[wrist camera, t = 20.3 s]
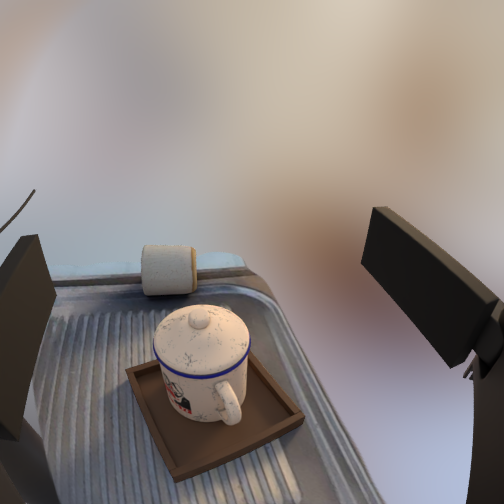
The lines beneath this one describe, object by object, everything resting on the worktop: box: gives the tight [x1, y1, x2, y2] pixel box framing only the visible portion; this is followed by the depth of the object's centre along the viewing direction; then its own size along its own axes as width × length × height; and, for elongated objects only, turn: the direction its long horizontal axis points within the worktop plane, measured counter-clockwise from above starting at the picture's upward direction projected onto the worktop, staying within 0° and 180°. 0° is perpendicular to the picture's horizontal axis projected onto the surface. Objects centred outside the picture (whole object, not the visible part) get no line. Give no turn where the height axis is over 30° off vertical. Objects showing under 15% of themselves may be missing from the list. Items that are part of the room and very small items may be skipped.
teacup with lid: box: [153, 305, 251, 425], centre depth 29 cm, size 12×9×12 cm
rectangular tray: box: [125, 350, 305, 483], centre depth 32 cm, size 15×15×2 cm
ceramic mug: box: [141, 245, 197, 296], centre depth 49 cm, size 11×8×8 cm
